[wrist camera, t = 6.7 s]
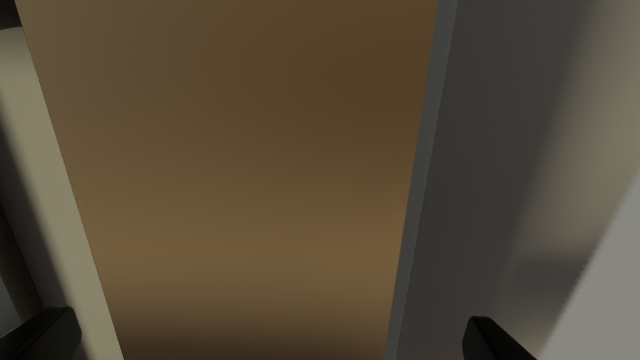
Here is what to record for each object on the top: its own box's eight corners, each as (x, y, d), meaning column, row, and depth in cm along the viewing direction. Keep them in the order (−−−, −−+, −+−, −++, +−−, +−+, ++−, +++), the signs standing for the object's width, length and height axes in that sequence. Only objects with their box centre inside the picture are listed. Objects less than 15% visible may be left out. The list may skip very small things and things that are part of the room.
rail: (336, 489, 15) (340, 642, 12) (235, 486, 15) (209, 639, 12) (411, -349, 5) (593, -1022, 2) (116, -360, 5) (-309, -1061, 2)
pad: (368, 491, 17) (369, 508, 16) (205, 487, 17) (201, 504, 16) (529, -486, 5) (554, -539, 5) (-4, -507, 5) (-42, -564, 5)
